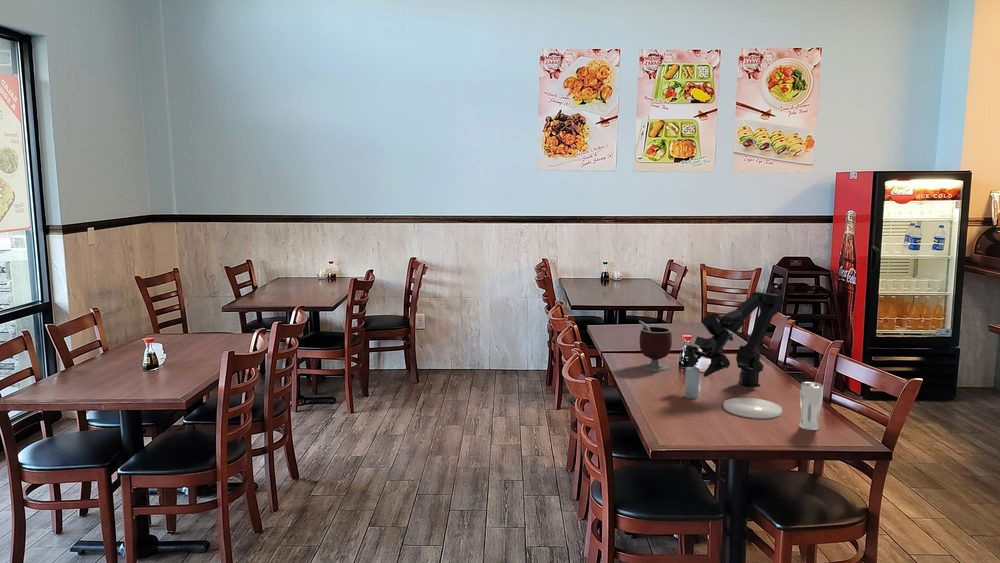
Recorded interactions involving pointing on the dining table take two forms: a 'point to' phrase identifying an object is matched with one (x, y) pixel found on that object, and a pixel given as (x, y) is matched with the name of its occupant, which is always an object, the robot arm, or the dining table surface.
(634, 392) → the dining table surface
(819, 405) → the beer glass
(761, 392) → the dining table surface
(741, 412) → the plate
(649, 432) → the dining table surface
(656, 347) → the mate gourd
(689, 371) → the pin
